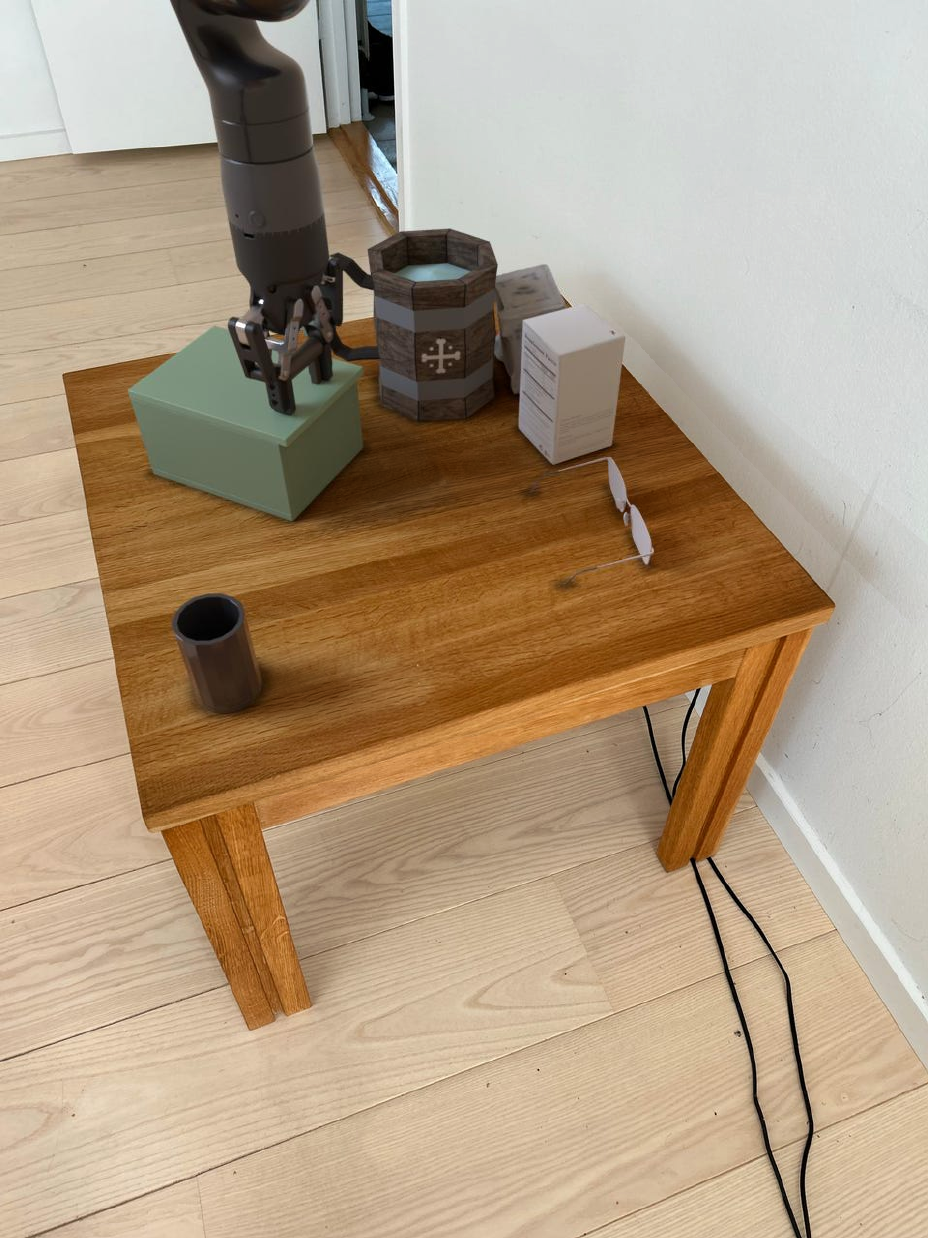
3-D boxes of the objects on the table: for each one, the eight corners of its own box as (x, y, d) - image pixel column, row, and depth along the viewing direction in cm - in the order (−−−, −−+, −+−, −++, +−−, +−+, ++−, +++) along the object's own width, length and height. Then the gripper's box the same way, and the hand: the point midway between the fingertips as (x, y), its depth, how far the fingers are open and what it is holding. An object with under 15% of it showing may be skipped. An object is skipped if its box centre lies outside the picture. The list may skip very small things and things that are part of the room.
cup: (203, 722, 71) (180, 653, 65) (189, 674, 74) (165, 605, 69) (269, 700, 72) (252, 631, 67) (252, 655, 76) (234, 585, 70)
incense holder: (483, 352, 108) (483, 266, 101) (552, 346, 109) (558, 261, 101) (497, 399, 101) (499, 310, 94) (571, 392, 102) (579, 304, 95)
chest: (363, 447, 95) (356, 372, 89) (292, 522, 87) (278, 445, 81) (231, 407, 100) (215, 333, 94) (153, 474, 92) (129, 398, 86)
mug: (509, 364, 106) (513, 235, 95) (479, 431, 97) (481, 296, 86) (347, 342, 110) (334, 215, 99) (305, 404, 101) (285, 272, 90)
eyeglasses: (652, 577, 82) (656, 544, 79) (564, 594, 81) (564, 561, 78) (607, 481, 91) (609, 448, 88) (528, 495, 91) (527, 462, 88)
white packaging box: (576, 410, 100) (587, 300, 91) (613, 447, 95) (628, 335, 86) (515, 428, 98) (520, 317, 88) (550, 467, 93) (559, 354, 84)
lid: (364, 374, 89) (359, 323, 85) (287, 447, 81) (278, 395, 77) (215, 332, 94) (205, 283, 90) (129, 397, 86) (114, 346, 82)
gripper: (287, 167, 78) (311, 348, 90) (178, 234, 69) (222, 424, 81) (363, 182, 76) (378, 366, 88) (261, 254, 67) (293, 447, 79)
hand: (303, 393), depth 85 cm, fingers closed on lid, 5 cm apart
